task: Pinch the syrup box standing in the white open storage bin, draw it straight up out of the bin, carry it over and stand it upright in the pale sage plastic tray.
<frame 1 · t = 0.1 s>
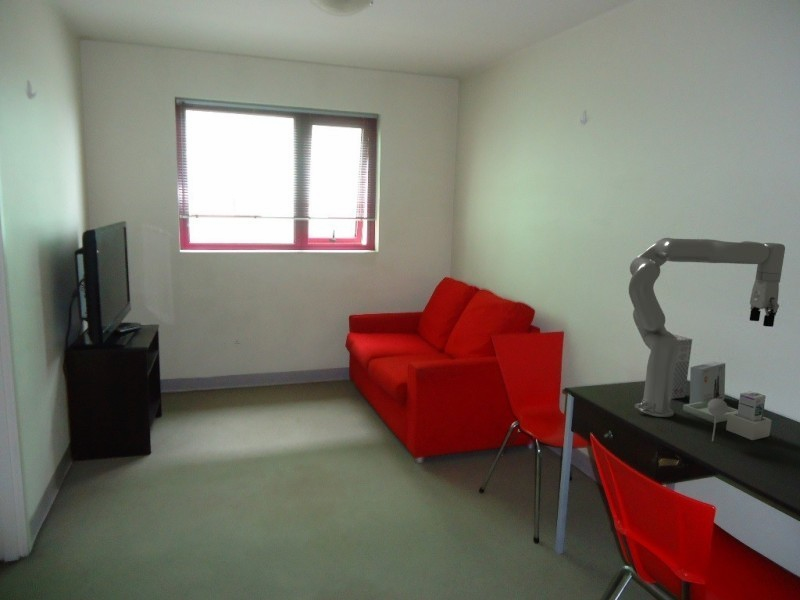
hand: (760, 323, 202), 37 cm above the table, tool pointing down, fingers open, 9 cm apart
skincare box: (708, 403, 226), on the table, touching tray
box: (668, 395, 233), on the table
lollipop: (712, 441, 187), on the table
tray: (711, 414, 212), on the table
white open storage bin: (747, 432, 195), on the table
syrup box: (747, 433, 195), resting in white open storage bin
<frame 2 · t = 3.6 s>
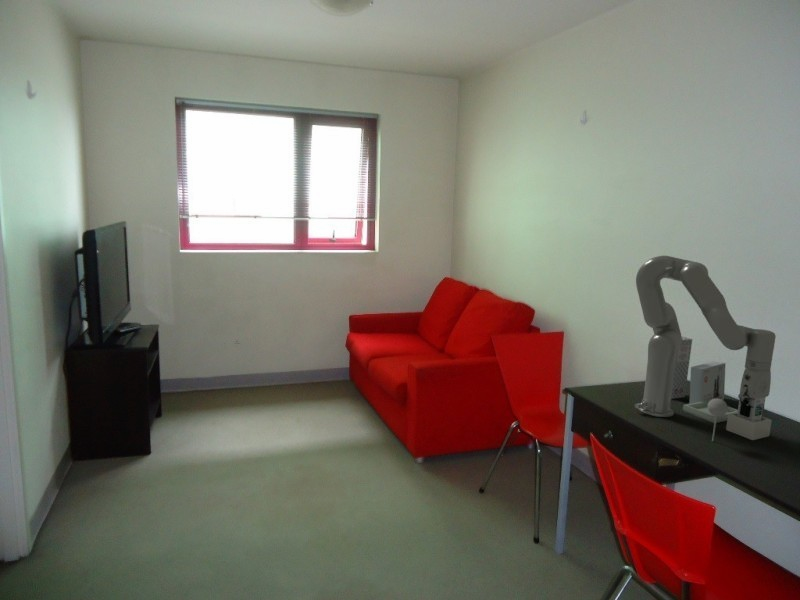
hand: (750, 414, 194), 7 cm above the table, tool pointing down, fingers closed on syrup box, 5 cm apart
syrup box: (747, 433, 195), resting in white open storage bin, touching gripper
everything else where it was.
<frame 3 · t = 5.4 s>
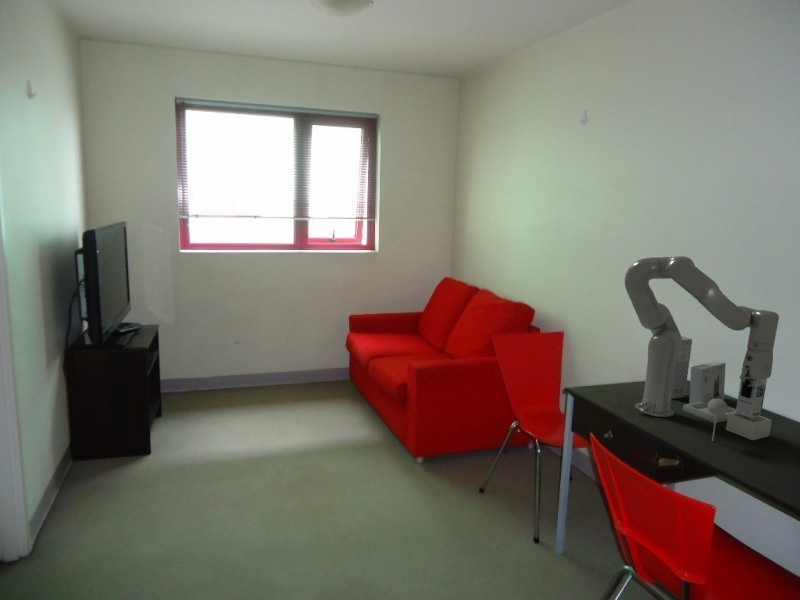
hand: (751, 395, 193), 14 cm above the table, tool pointing down, fingers closed on syrup box, 5 cm apart
syrup box: (747, 414, 194), point 7 cm above the table, touching gripper
everything else where it was.
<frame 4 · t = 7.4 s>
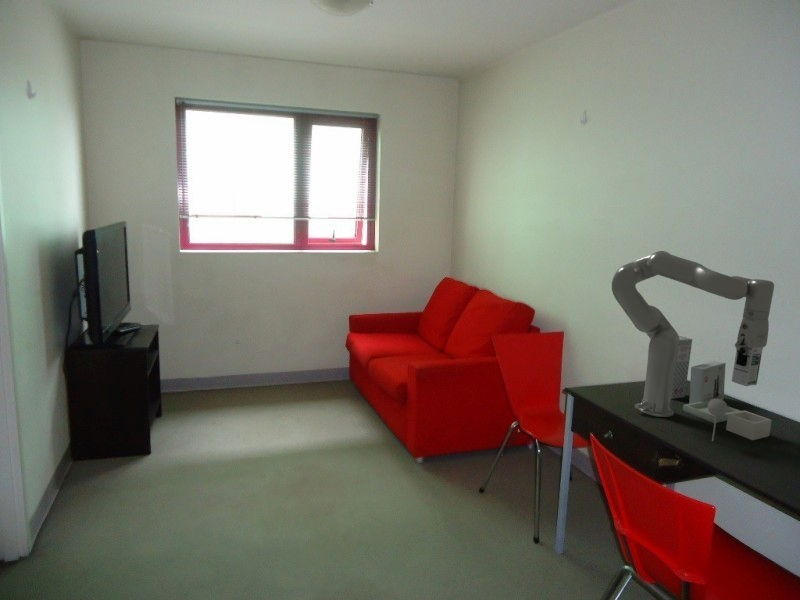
hand: (746, 364, 195), 24 cm above the table, tool pointing down, fingers closed on syrup box, 5 cm apart
syrup box: (743, 383, 196), point 17 cm above the table, touching gripper
everything else where it was.
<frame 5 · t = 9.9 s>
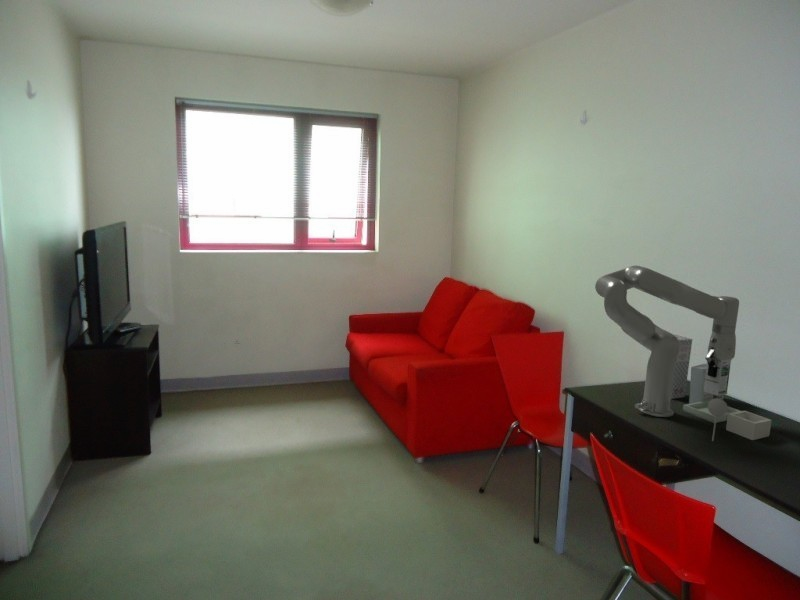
hand: (717, 375, 210), 16 cm above the table, tool pointing down, fingers closed on syrup box, 5 cm apart
syrup box: (714, 393, 211), point 8 cm above the table, touching gripper
everything else where it was.
when the fingers open (9 cm above the table, at t = 11.6 s): syrup box drops 1 cm, resting on tray.
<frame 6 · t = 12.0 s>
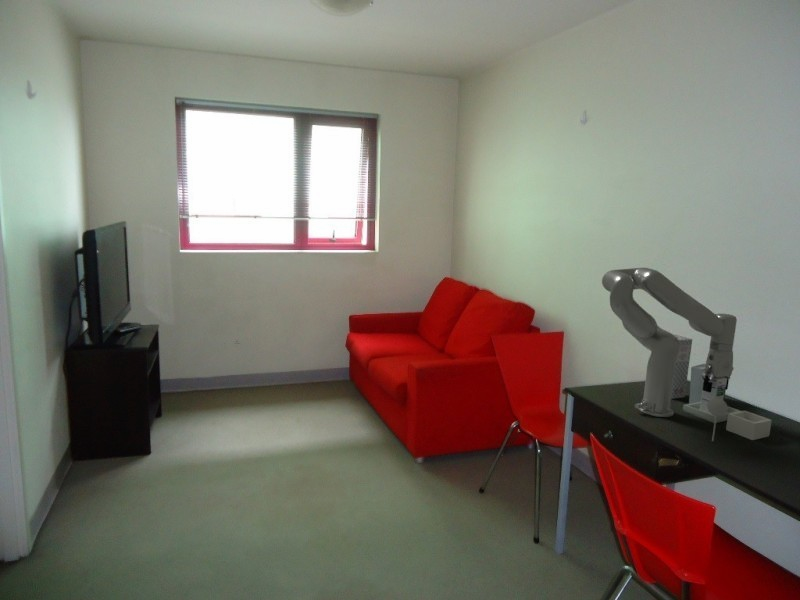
hand: (714, 389, 211), 10 cm above the table, tool pointing down, fingers open, 9 cm apart
syrup box: (710, 412, 212), point 1 cm above the table, touching tray
everything else where it was.
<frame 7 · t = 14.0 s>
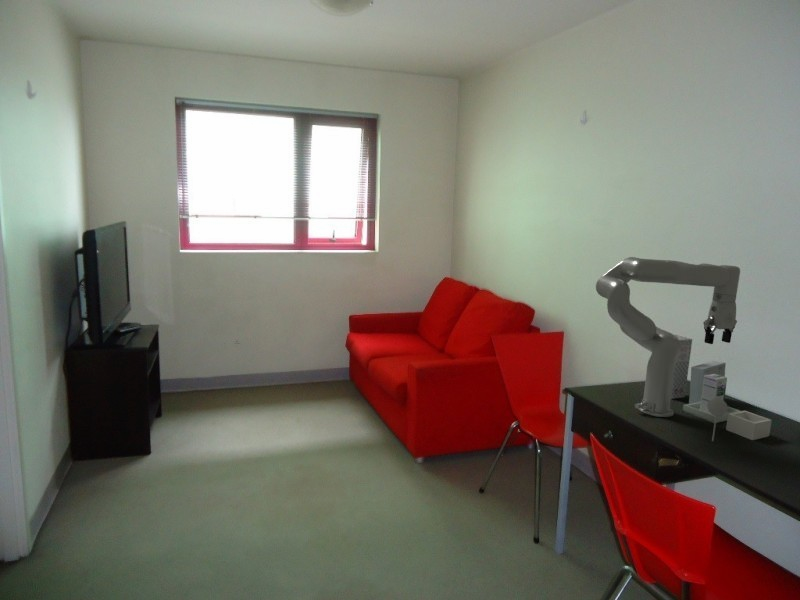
hand: (717, 342, 209), 28 cm above the table, tool pointing down, fingers open, 9 cm apart
nothing on the table moved.
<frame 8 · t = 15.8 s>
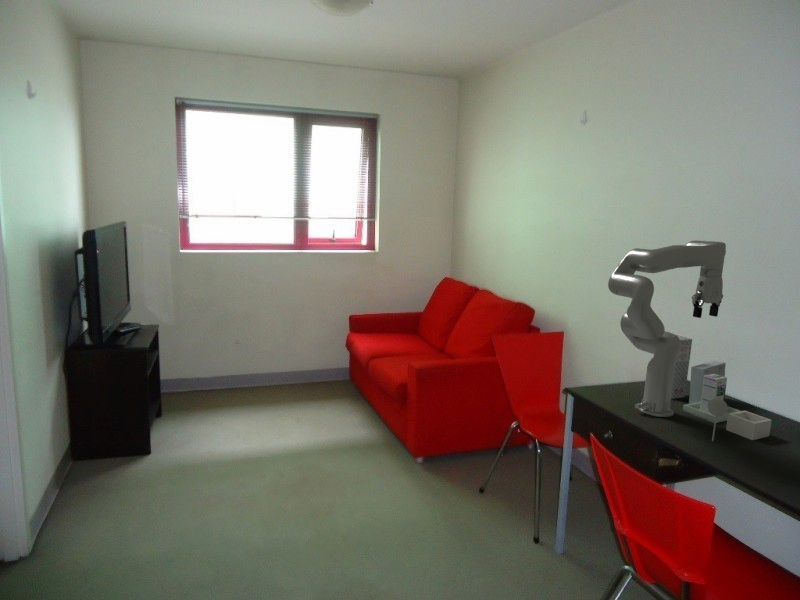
hand: (705, 316, 216), 36 cm above the table, tool pointing down, fingers open, 9 cm apart
nothing on the table moved.
at the end: syrup box inside the target area on the tray (0.4 cm from its centre), point 0.6 cm above the tray's base; syrup box tilted 0°; the gripper is holding nothing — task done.
